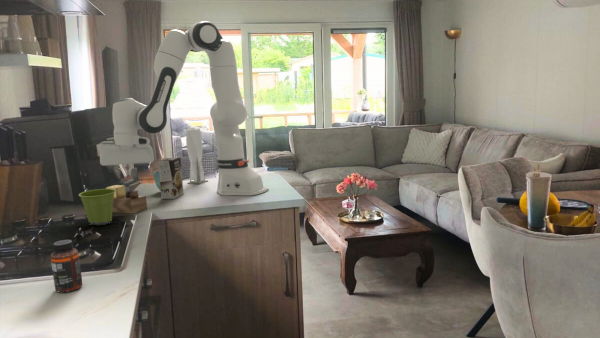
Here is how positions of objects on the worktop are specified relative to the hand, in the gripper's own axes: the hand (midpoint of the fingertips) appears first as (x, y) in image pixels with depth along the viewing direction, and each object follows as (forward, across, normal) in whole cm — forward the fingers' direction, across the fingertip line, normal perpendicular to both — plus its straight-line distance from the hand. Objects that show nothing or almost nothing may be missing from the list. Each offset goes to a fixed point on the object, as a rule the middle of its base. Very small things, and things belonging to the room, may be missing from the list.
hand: (128, 175), depth 208 cm
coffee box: (+12, +18, +8) cm, 23 cm away
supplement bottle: (+14, -20, -86) cm, 89 cm away
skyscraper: (+11, +34, +36) cm, 50 cm away
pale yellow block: (+7, -5, -4) cm, 10 cm away
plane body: (+12, -2, -6) cm, 14 cm away
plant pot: (+13, -12, -25) cm, 30 cm away
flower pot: (+12, +18, +22) cm, 30 cm away
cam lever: (+7, +1, -4) cm, 8 cm away
